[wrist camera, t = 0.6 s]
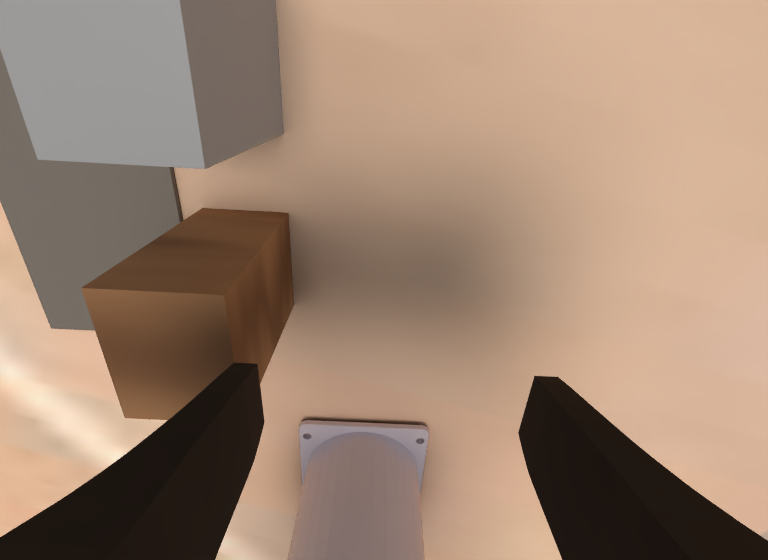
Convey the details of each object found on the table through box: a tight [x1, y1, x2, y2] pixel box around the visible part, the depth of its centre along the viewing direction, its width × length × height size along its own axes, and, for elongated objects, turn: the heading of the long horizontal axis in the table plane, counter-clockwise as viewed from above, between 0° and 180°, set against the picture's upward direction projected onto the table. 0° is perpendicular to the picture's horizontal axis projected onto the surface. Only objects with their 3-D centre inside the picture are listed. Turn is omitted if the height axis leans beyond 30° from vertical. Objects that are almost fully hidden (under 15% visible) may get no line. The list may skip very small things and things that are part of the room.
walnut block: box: [81, 208, 294, 420], centre depth 16 cm, size 5×4×8 cm
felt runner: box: [0, 50, 183, 330], centre depth 17 cm, size 18×8×1 cm, turn 177°
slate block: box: [0, 0, 284, 169], centre depth 12 cm, size 5×4×8 cm
